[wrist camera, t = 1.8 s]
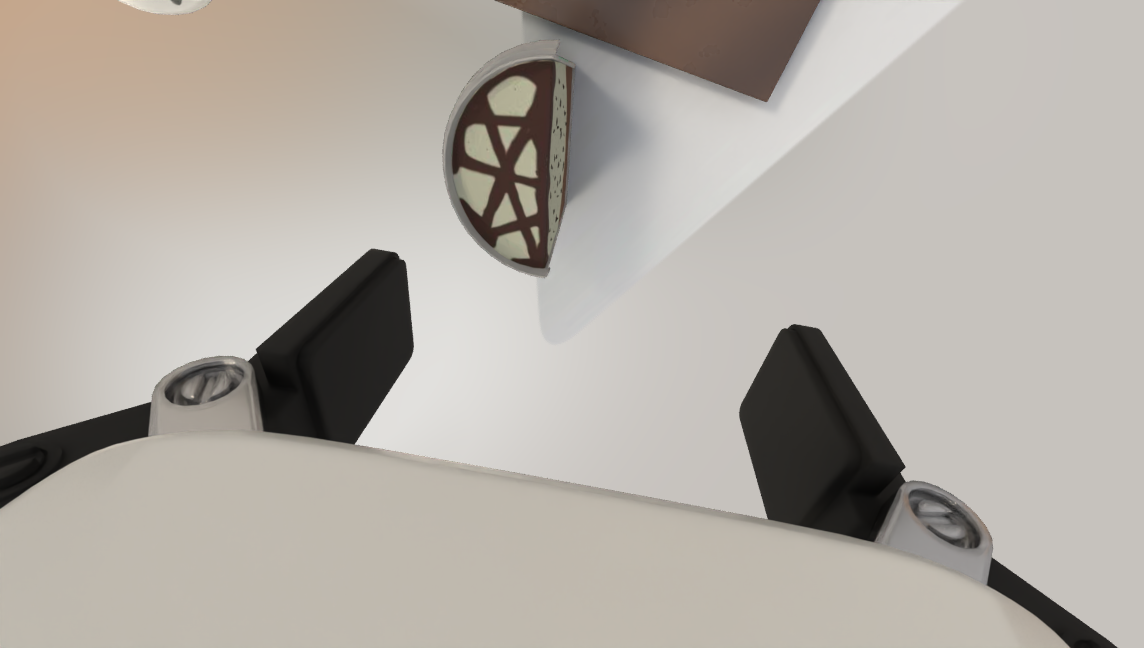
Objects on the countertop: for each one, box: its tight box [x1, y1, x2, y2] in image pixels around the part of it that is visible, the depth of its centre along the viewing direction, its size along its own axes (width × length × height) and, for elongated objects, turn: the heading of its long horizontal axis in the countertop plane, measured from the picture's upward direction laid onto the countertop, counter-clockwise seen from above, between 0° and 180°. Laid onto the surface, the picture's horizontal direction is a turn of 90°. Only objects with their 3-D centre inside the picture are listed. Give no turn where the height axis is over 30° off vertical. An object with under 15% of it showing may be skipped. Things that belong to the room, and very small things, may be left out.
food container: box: [442, 40, 575, 278], centre depth 27 cm, size 12×6×10 cm, turn 176°
